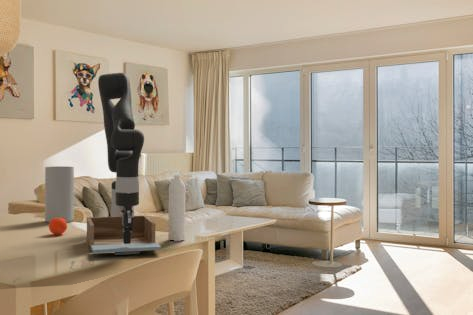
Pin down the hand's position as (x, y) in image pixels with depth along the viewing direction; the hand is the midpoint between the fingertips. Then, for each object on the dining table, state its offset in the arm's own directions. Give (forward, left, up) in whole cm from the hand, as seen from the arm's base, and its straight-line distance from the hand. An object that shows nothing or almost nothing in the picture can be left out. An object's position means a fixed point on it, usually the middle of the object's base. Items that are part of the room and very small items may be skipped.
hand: (127, 243), depth 182 cm
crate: (-19, 0, -4) cm, 20 cm away
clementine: (-48, -21, -4) cm, 53 cm away
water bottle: (-24, +23, -4) cm, 34 cm away
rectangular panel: (-8, 0, -3) cm, 9 cm away
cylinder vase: (-85, -20, -4) cm, 88 cm away
